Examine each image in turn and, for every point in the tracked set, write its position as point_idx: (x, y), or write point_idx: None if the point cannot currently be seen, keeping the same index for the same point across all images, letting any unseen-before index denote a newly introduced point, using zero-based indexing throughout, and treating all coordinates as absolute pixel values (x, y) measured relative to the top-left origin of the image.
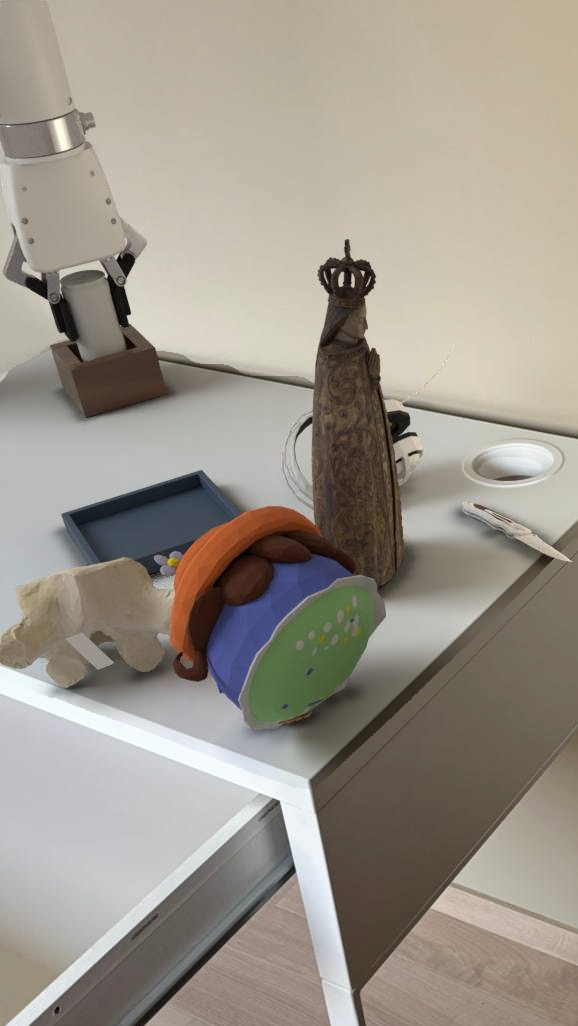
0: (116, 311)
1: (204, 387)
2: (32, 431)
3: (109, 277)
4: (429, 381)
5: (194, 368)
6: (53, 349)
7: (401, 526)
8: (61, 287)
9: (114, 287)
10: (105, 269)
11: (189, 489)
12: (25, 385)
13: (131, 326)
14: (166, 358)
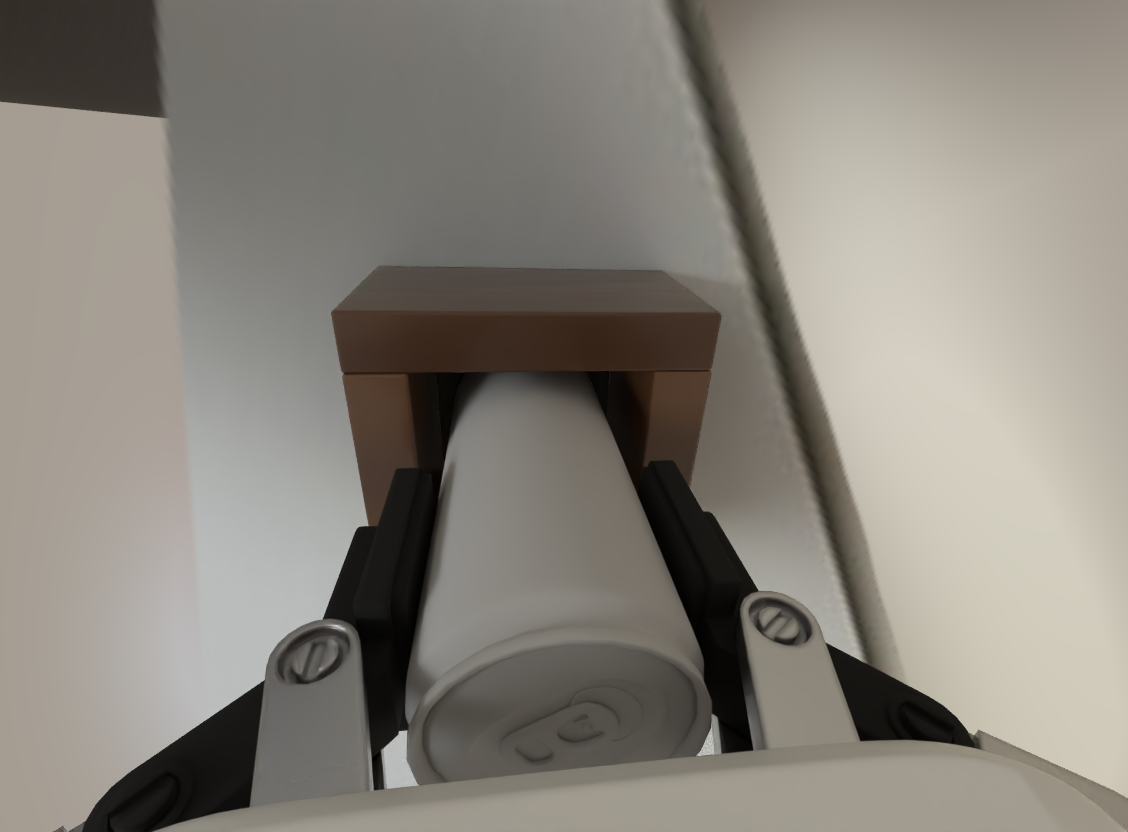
0: None
1: (720, 508)
2: (252, 496)
3: (722, 682)
4: None
5: (771, 381)
6: (343, 371)
7: None
8: (412, 707)
9: None
10: (746, 688)
11: None
12: (223, 73)
13: (709, 353)
14: (762, 237)
